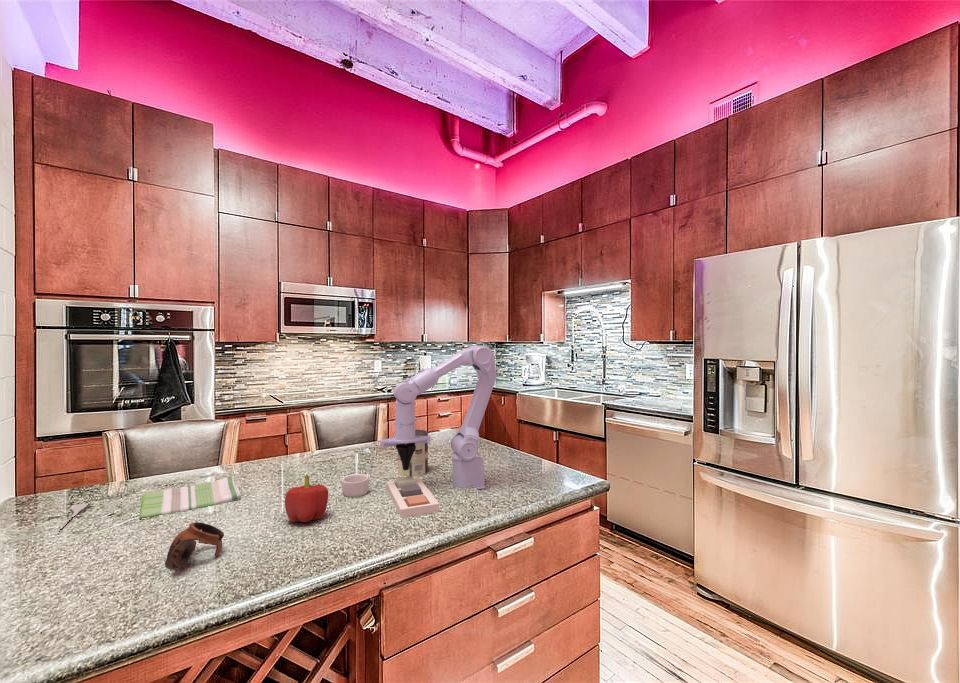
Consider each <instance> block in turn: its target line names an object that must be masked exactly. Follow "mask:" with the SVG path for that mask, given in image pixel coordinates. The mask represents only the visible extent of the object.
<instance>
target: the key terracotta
mask: <svg viewBox="0 0 960 683" xmlns="http://www.w3.org/2000/svg"><path fill="white" fill-rule="evenodd" d="M424 504H428V501H427V499H426V498H425V496H424V495H418V496H412V497H406V505H407V506H408V507H411V506H418V505H424Z"/></svg>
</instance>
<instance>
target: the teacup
mask: <svg viewBox="0 0 960 683" xmlns="http://www.w3.org/2000/svg"><path fill="white" fill-rule="evenodd" d="M340 483H341V490H342V495H343V496H344V497H347V498H358V497H362V496H365V495H366V494H367V492H368V491H369V485H370V477H369V475H367V474H363V473H353V474H348V475H346V476H343V477H342V478H341V482H340Z"/></svg>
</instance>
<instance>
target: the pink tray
mask: <svg viewBox="0 0 960 683" xmlns="http://www.w3.org/2000/svg"><path fill="white" fill-rule="evenodd" d="M413 478H414V477H413ZM414 480H415V481H416V484H418V485H419V487H420V488H421V495H424V496H425V498H426V499H427V501H428V504H424V505H418V506H411V507H408V506H407V505H406V497H402V496H401V488H400V489H397V487H396V480H389V481H386V483H385V484H386V486H385V487H386V490H387V493H388V496H389V497H390V498H391V501H392V503H393V504H394V507H395V509H396V510H397V513H398V515H399V517H400V518H401V519H404V518H408V517H414V516H420V515H426V514H433V513H437V512H440V503H439V502H438V499H436V498H435V496H434V495H433V494H432V493H431V491H430V490H429V489H428V487H427V486H426V484H424V482H423V480H422V479H421V478H420V477H415V478H414ZM415 496H418V495H415ZM409 497H412V496H409Z"/></svg>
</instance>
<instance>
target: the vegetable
mask: <svg viewBox="0 0 960 683" xmlns="http://www.w3.org/2000/svg"><path fill="white" fill-rule="evenodd" d="M328 502H329V490H328V488H327V487H326V486H325V485H322V484H320V483H318V484H315V485H311V484H310V477H309V475H304V485H302V486H297V487H295V486H293V487H291V488H290V489H288V490H287V492H286V493H285V496H284V508H285V512H286V515H287V517H288V519H289V520H290V521H291V522H294V523H297V522H301V523H305V522H309V521H312V520H313V521H314V520H319V519H321V518H322V517H323V516H324V514H325V512H326V510H327V507H328Z"/></svg>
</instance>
